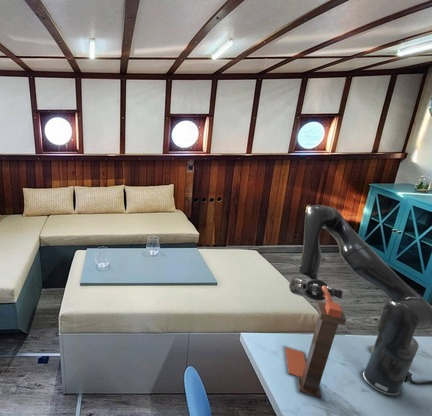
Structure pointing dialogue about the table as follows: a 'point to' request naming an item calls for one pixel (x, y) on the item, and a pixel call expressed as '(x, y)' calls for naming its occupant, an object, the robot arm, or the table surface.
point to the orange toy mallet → (331, 304)
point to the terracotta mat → (295, 362)
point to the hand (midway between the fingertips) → (327, 291)
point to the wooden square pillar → (319, 351)
